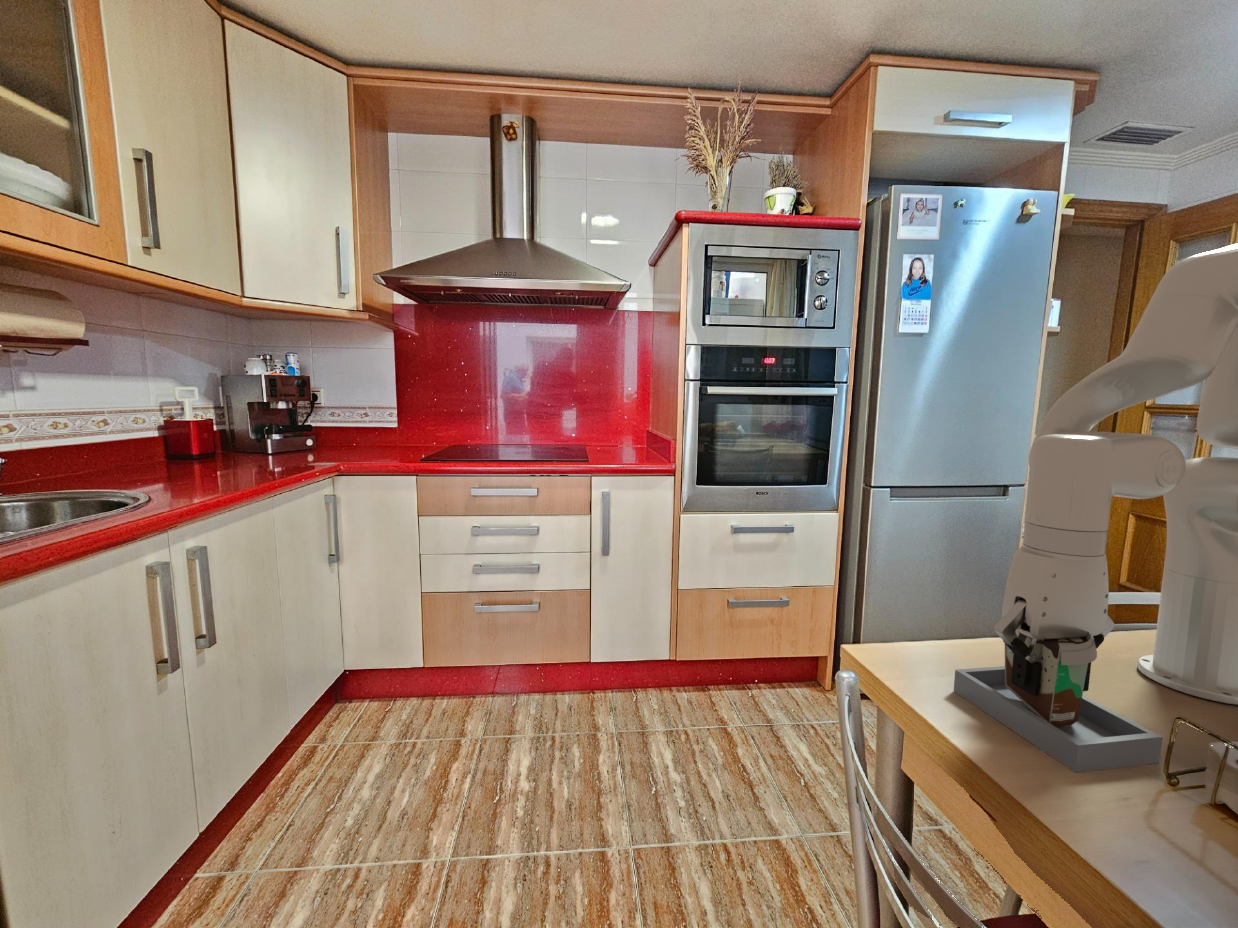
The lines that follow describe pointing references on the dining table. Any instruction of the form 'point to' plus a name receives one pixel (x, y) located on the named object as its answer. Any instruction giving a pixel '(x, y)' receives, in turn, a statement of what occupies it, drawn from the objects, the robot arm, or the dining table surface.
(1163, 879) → the dining table surface
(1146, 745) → the tray
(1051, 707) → the food container
